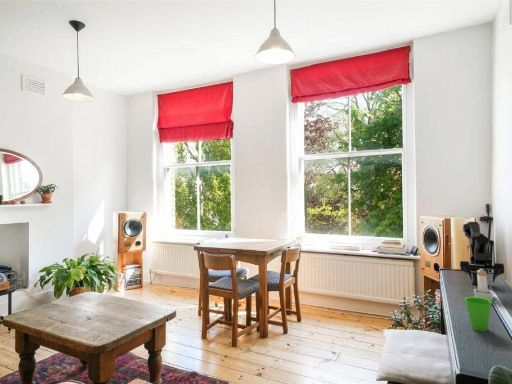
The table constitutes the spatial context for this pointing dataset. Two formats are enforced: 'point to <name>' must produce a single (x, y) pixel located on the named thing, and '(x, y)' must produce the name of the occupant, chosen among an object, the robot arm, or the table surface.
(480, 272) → the cell
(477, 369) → the table surface
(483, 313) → the cup
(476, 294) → the frame
